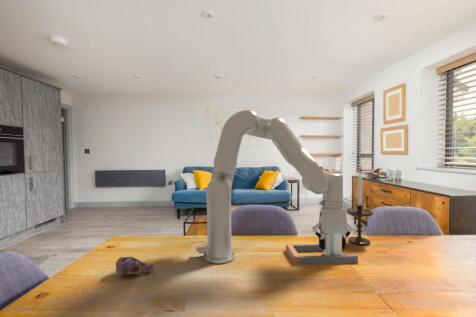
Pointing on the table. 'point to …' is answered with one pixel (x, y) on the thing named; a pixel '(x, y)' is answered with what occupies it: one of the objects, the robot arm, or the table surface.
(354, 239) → the candlestick
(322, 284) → the table surface
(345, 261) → the track
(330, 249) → the can
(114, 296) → the table surface
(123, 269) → the skull
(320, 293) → the table surface
